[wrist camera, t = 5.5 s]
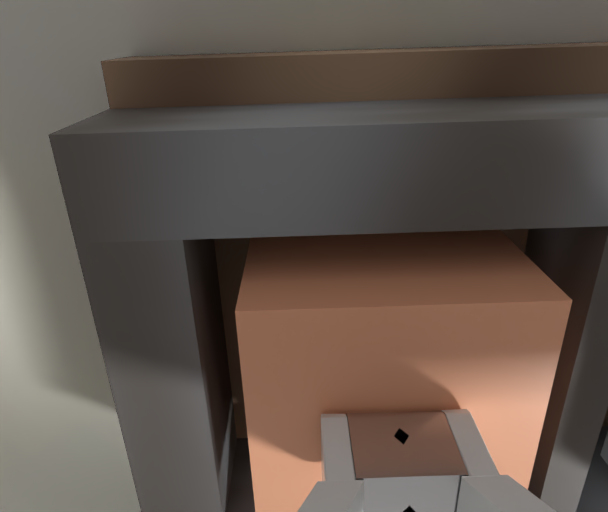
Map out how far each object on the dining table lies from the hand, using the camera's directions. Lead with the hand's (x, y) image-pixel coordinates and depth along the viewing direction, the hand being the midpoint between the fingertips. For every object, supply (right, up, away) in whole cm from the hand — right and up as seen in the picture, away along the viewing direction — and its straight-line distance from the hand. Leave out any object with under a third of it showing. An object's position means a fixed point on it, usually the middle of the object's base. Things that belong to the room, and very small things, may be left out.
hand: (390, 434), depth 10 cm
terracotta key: (0, +2, +3) cm, 4 cm away
